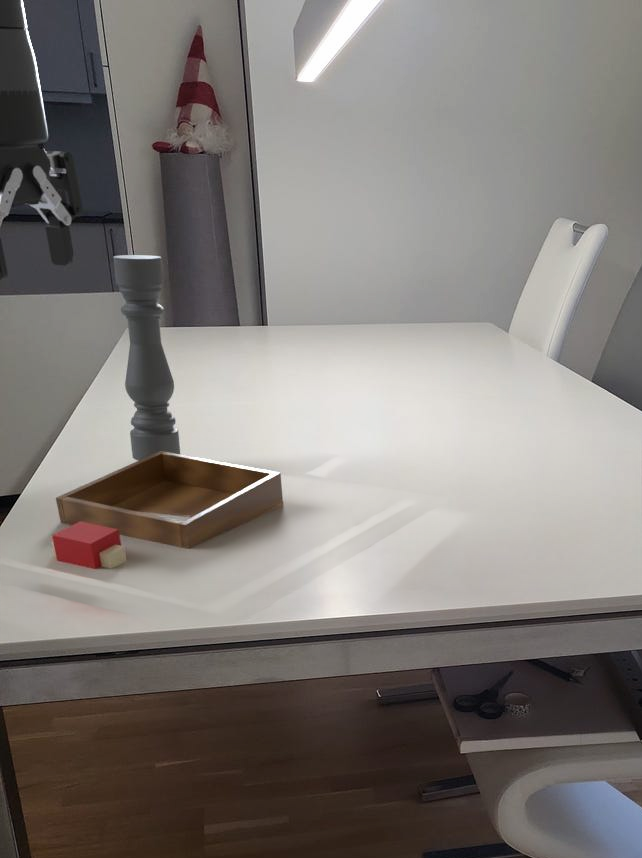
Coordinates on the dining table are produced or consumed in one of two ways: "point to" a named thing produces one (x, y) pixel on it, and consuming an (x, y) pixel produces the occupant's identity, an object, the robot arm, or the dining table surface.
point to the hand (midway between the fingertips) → (31, 271)
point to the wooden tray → (174, 499)
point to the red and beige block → (89, 546)
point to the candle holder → (146, 356)
